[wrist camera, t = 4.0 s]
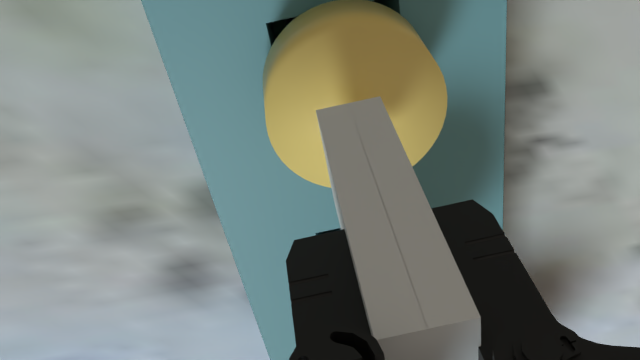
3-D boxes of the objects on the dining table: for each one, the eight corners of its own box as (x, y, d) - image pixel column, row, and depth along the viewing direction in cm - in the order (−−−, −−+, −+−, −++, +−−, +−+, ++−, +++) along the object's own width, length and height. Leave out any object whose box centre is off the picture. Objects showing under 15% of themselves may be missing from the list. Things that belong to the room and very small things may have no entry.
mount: (296, 363, 35) (306, 460, 30) (145, -113, 20) (116, -69, 15) (462, 328, 35) (499, 420, 30) (441, -176, 20) (509, -152, 15)
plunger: (272, 85, 23) (286, 204, 17) (242, -39, 20) (245, 50, 14) (393, 59, 23) (451, 169, 17) (380, -69, 20) (443, 8, 14)
